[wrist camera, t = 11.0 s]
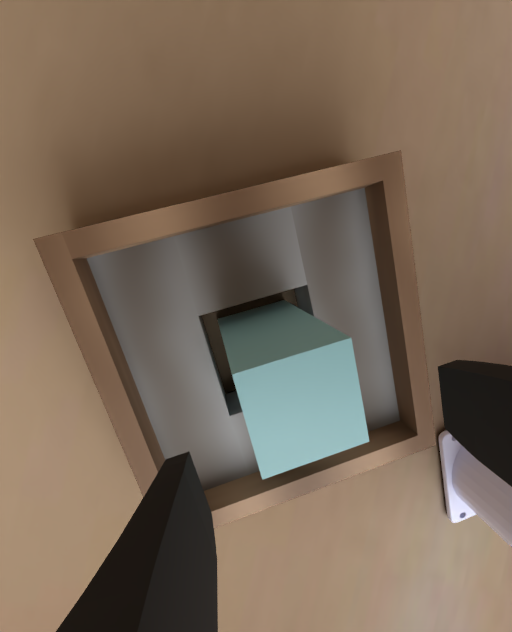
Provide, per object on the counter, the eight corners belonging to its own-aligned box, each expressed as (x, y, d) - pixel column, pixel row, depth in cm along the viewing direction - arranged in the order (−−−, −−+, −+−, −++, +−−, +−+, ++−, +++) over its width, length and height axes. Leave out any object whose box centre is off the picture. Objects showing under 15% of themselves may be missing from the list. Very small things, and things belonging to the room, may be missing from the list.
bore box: (354, 173, 17) (401, 150, 13) (391, 408, 20) (436, 444, 16) (76, 242, 15) (33, 239, 11) (172, 485, 19) (164, 547, 15)
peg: (284, 300, 17) (351, 337, 10) (298, 362, 18) (369, 441, 11) (217, 318, 17) (232, 374, 9) (235, 381, 18) (262, 479, 10)
